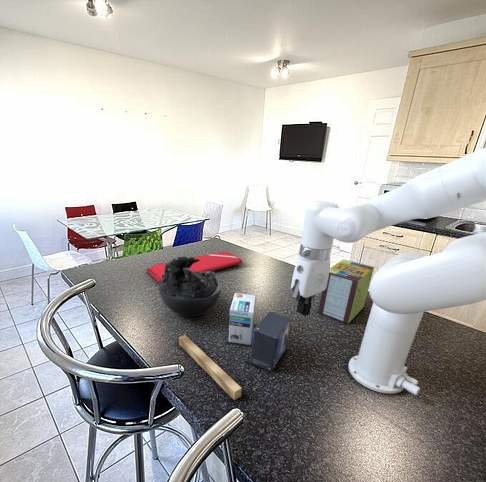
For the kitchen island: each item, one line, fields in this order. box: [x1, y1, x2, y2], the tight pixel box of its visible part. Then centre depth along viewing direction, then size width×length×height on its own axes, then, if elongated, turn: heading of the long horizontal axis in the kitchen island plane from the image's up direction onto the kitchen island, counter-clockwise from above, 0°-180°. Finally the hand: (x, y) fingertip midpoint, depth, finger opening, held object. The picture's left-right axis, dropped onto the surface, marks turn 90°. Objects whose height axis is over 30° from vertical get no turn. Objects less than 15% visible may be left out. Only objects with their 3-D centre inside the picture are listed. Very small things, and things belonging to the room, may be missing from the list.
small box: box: [249, 311, 291, 372], centre depth 76 cm, size 11×6×10 cm, turn 148°
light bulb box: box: [228, 292, 257, 346], centre depth 85 cm, size 11×7×11 cm, turn 168°
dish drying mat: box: [146, 251, 244, 284], centre depth 131 cm, size 16×41×4 cm, turn 121°
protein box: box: [317, 258, 375, 325], centre depth 98 cm, size 10×15×16 cm
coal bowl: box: [158, 255, 222, 317], centre depth 94 cm, size 20×20×19 cm
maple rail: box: [178, 334, 243, 401], centre depth 73 cm, size 24×2×2 cm, turn 36°
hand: (302, 313), depth 82 cm, fingers closed
